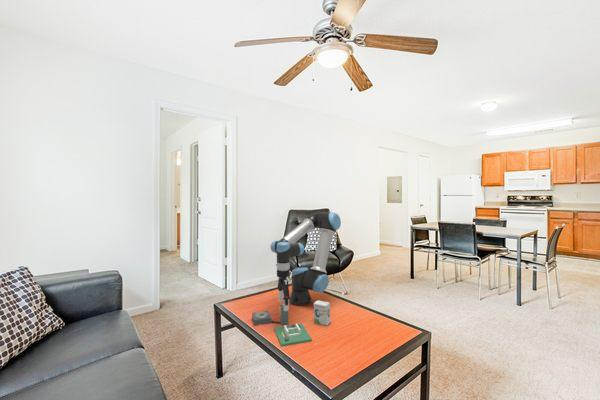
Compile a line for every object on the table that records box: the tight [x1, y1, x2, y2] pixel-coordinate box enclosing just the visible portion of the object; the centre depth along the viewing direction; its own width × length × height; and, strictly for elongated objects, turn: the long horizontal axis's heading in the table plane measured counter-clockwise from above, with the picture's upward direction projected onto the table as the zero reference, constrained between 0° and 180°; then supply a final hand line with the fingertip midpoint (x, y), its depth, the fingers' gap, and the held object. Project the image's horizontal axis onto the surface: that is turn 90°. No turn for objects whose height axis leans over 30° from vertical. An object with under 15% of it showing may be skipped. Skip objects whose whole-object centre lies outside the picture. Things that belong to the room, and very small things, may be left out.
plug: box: [278, 304, 289, 326], centre depth 161 cm, size 5×4×10 cm
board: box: [274, 322, 313, 347], centre depth 148 cm, size 16×18×4 cm
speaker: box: [251, 310, 273, 326], centre depth 165 cm, size 10×10×4 cm
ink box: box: [313, 299, 331, 326], centre depth 161 cm, size 9×5×12 cm, turn 62°
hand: (283, 305), depth 161 cm, fingers open, 13 cm apart
